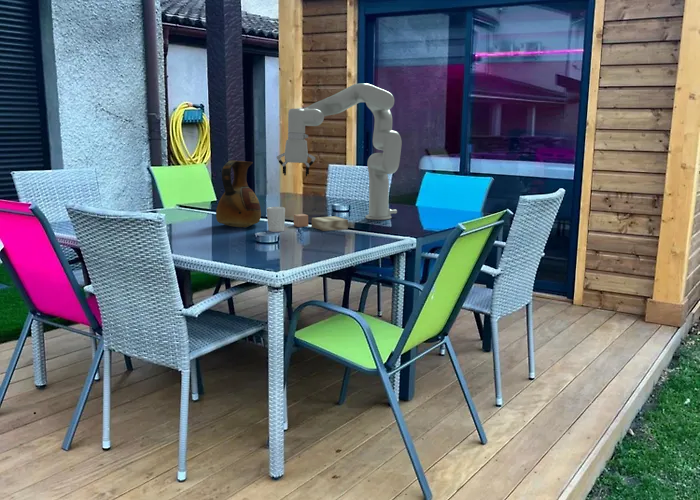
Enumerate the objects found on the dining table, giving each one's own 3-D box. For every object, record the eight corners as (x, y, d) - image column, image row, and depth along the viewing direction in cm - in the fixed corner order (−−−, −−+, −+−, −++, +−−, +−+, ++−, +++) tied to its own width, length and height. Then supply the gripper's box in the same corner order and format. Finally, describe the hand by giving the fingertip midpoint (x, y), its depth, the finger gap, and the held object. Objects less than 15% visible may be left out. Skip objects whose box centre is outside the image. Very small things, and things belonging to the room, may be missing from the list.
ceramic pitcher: (269, 225, 308) (268, 159, 302) (244, 232, 290) (242, 162, 284) (233, 222, 316) (231, 157, 310) (207, 228, 298) (204, 160, 292)
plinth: (335, 224, 310) (335, 216, 309) (347, 228, 299) (347, 219, 298) (311, 226, 304) (311, 218, 303) (323, 230, 294) (323, 221, 293)
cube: (303, 224, 310) (303, 213, 309) (308, 226, 306) (308, 215, 305) (293, 225, 308) (293, 214, 307) (298, 227, 303) (298, 216, 302)
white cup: (282, 232, 289) (282, 209, 287) (264, 231, 291) (264, 208, 289) (287, 229, 297) (287, 207, 295) (270, 228, 298) (270, 206, 296)
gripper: (316, 137, 303) (315, 175, 307) (277, 136, 303) (276, 174, 306) (316, 137, 296) (315, 176, 299) (276, 136, 295) (275, 175, 298)
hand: (295, 175), depth 302 cm, fingers open, 9 cm apart
